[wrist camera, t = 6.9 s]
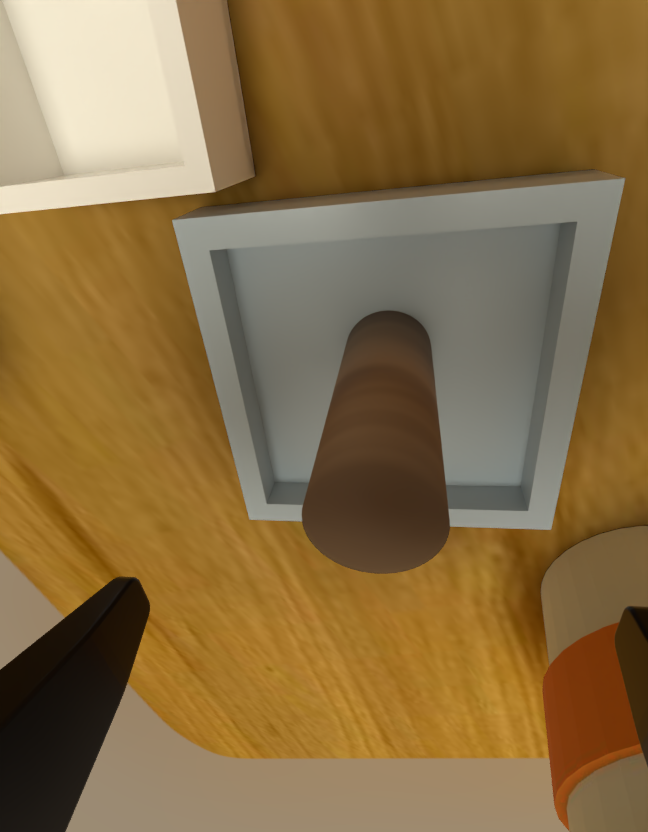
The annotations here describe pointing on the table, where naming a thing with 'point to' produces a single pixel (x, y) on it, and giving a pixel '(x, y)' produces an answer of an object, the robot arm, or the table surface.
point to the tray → (423, 300)
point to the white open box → (118, 102)
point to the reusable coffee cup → (594, 683)
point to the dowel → (380, 453)
